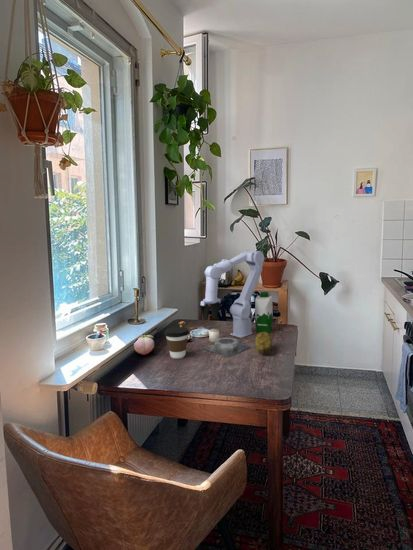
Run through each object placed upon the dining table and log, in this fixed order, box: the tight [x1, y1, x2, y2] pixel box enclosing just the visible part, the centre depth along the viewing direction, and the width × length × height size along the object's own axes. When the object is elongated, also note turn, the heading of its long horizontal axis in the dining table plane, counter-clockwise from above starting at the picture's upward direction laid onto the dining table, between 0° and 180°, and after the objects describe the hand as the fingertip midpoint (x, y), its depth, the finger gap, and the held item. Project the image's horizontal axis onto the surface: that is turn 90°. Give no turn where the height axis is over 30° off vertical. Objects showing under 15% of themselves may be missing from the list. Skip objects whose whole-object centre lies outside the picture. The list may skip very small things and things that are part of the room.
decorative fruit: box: [133, 333, 155, 356], centre depth 184 cm, size 9×8×10 cm
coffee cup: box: [164, 326, 190, 359], centre depth 181 cm, size 11×11×12 cm
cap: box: [208, 328, 220, 343], centre depth 201 cm, size 5×5×5 cm
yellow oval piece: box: [255, 332, 273, 355], centre depth 183 cm, size 8×13×8 cm, turn 160°
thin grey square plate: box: [201, 337, 252, 358], centre depth 188 cm, size 16×16×4 cm
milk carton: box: [254, 291, 274, 334], centre depth 212 cm, size 9×9×20 cm
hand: (209, 318), depth 198 cm, fingers open, 7 cm apart
